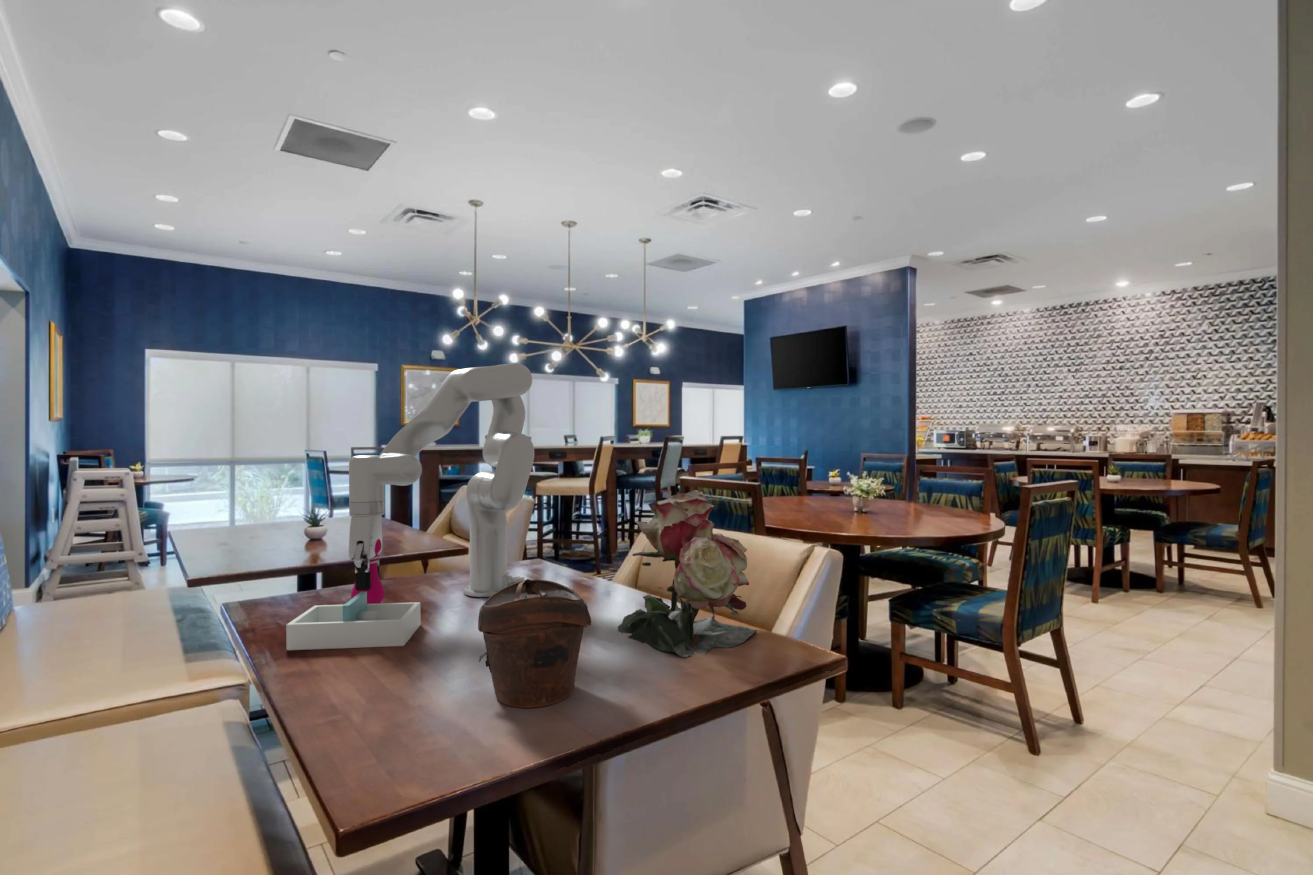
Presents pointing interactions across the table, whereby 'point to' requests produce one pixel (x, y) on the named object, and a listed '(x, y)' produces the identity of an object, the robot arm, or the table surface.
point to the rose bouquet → (690, 579)
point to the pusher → (358, 609)
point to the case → (533, 641)
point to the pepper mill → (373, 580)
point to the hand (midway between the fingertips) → (367, 585)
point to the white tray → (353, 627)
